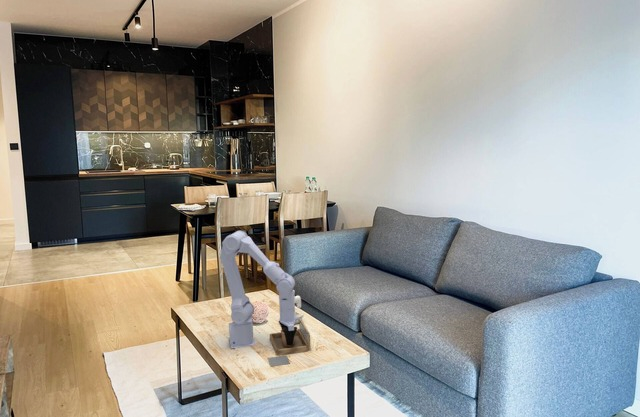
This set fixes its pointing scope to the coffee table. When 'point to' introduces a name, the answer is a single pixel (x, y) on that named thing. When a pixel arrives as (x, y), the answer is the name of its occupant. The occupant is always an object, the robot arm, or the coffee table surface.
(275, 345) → the cold frame
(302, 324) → the lid
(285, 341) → the pot
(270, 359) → the tile
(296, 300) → the figurine
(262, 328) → the coffee table surface
